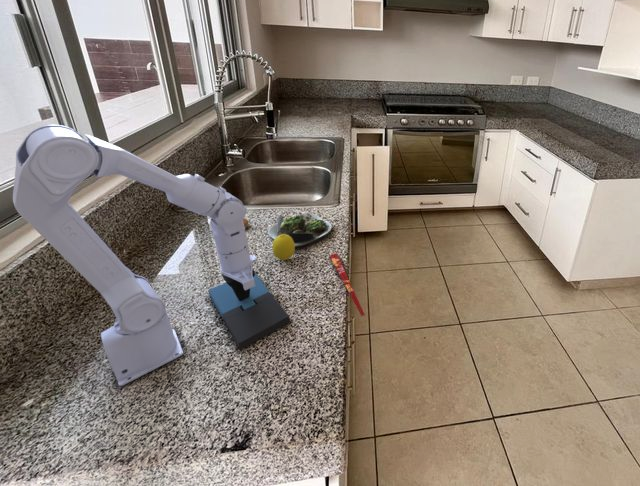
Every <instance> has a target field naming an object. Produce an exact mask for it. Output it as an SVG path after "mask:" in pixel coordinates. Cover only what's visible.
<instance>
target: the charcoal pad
mask: <svg viewBox="0 0 640 486" xmlns="http://www.w3.org/2000/svg"><path fill="white" fill-rule="evenodd" d="M254 302H255V304H256V305H254V306H252V307H250V308H248V309H246V310H244V311H242V309H241V308H240V306H239V307H236V308H234V309H232V310H230V311H228V312H226V313H224V314H222V316H223V318H222V320H223V322H224V324H225V326H226V328H227V330H228V331H229V333H230V335H231V337H232V338H233V340H234V342H235V344H236V346H237V347H238V349H239V351H241V350H244V349H245V348H247V347H249V346H251V345H252V344H254V343H257V342H258V341H259V340H261V339H263V338H265V337H267V336H268V335H270V334H272V333H274V332H276V331H278V330H280V329H281V328H283V327H285V326H286V325H288V324H290V322H291V321H290V316H289V314H287V312H286V311H285V310H284V308H283V307H282V305H281V304H280V303H279V302H278V300H277V299H276V298H275V297H274V295H273V294H272V293H271V292H268V293H266V294H264V295H262V296H260V297H257V298H255V299H254ZM222 316H221V317H222Z"/></svg>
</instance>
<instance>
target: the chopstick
mask: <svg viewBox="0 0 640 486" xmlns="http://www.w3.org/2000/svg"><path fill="white" fill-rule="evenodd" d="M329 258H330V260H331V262H332V264H333V266H334V268H335V270H336V272H337V273H338V275H339V277H340V279H341V281H342V283H343V284H344V286H345V288H346V290H347V292H348V294H349V296H350V298H351V300H352V301H353V303H354V305H355V306H356V307H355V308H357V311H358V312H359V314H360V316H361V317H363V316H365V312H364V310H363V308H362V306H361V304H360V301H359V299H358V297H357V295H356V293H355V290H354V288H353V286H352V284H351V280H350V279H349V277H348V274H347V273H346V269H345V268H344V266H343V264H342V261H341V259H340V257H339V254H338V253H334V254H330V255H329Z"/></svg>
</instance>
